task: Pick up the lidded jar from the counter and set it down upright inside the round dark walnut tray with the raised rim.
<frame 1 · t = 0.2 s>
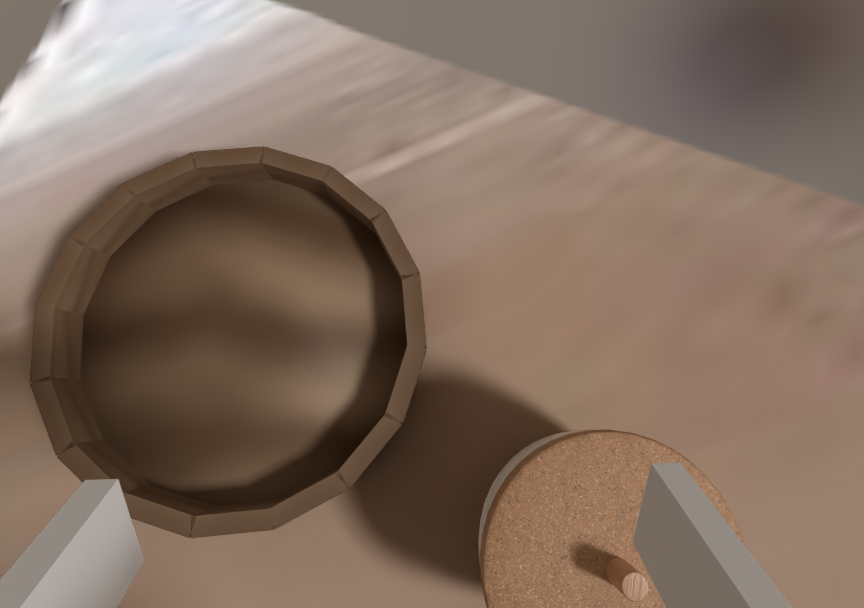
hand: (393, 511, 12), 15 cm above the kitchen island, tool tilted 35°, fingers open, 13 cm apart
walnut tray: (250, 333, 28), on the kitchen island
lidded jar: (561, 519, 27), on the kitchen island
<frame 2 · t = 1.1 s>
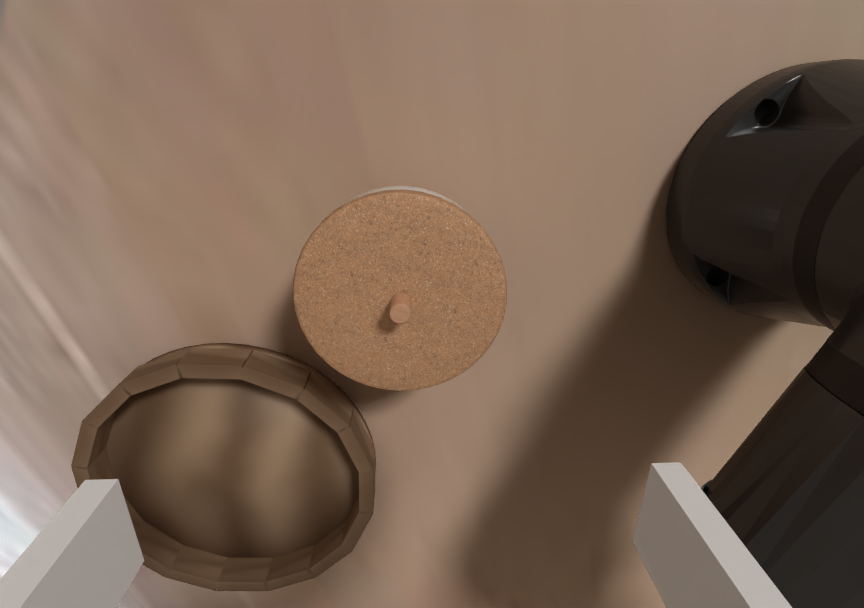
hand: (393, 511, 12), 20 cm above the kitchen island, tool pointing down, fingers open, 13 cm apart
walnut tray: (241, 462, 37), on the kitchen island
lidded jar: (403, 255, 31), on the kitchen island
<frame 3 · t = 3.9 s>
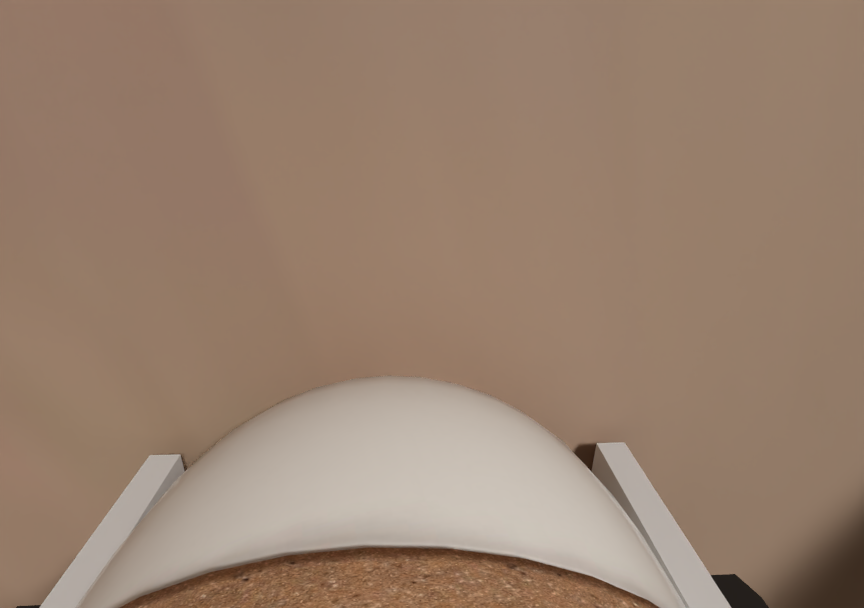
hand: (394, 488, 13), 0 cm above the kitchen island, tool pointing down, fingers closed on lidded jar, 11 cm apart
lidded jar: (395, 470, 13), on the kitchen island, touching gripper
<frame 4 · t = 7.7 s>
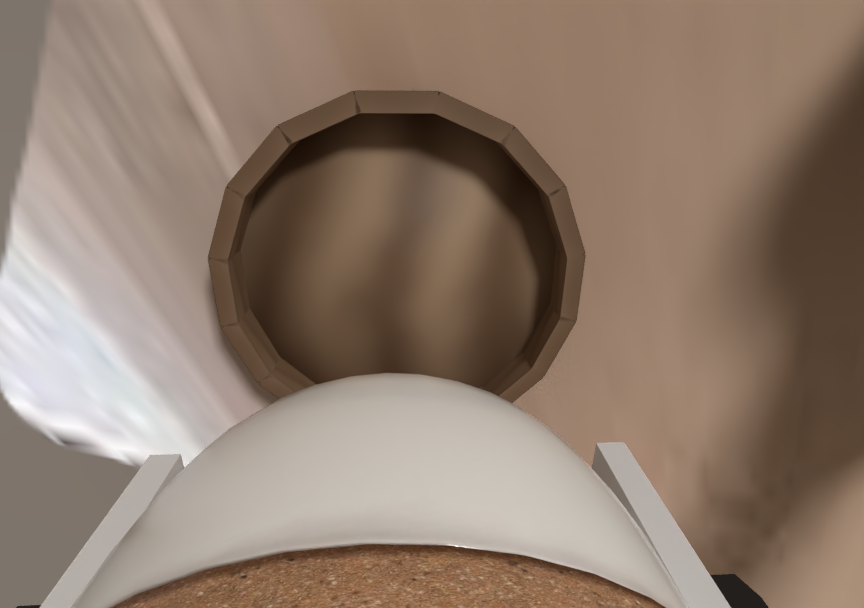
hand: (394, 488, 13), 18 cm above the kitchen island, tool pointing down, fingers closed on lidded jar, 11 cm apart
walnut tray: (401, 273, 29), on the kitchen island
lidded jar: (394, 469, 13), point 17 cm above the kitchen island, touching gripper
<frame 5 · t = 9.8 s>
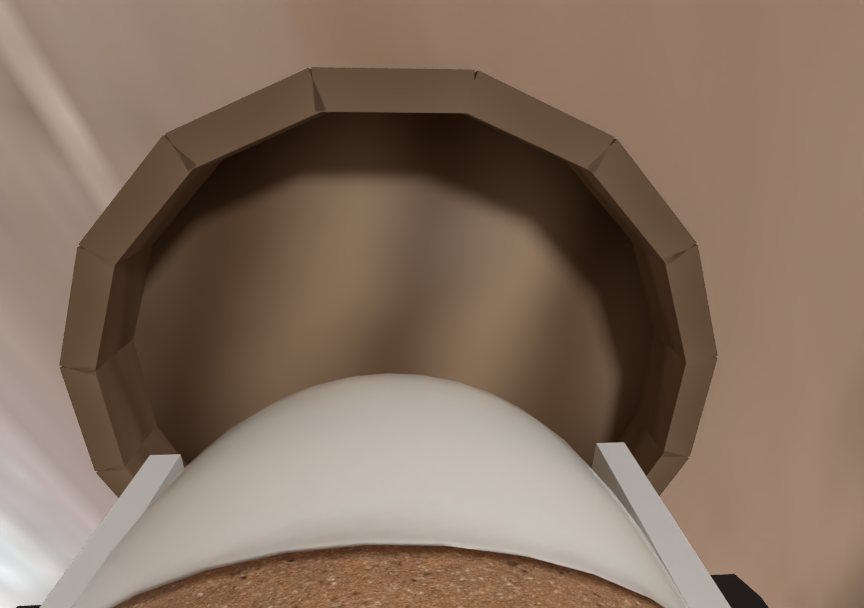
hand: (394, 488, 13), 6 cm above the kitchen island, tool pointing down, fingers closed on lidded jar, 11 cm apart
walnut tray: (401, 368, 18), on the kitchen island
lidded jar: (394, 469, 13), point 6 cm above the kitchen island, touching gripper
when the fingers open (3 cm above the kitchen island, at t = 11.4 s): lidded jar drops 2 cm, resting on walnut tray.
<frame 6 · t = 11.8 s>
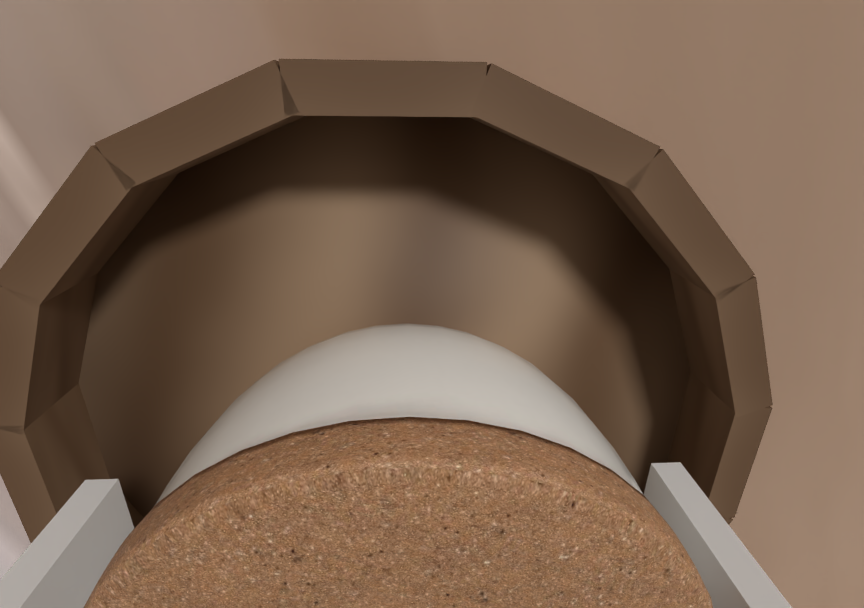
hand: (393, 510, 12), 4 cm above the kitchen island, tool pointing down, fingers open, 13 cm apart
walnut tray: (396, 411, 16), on the kitchen island
lidded jar: (405, 418, 15), point 1 cm above the kitchen island, touching walnut tray
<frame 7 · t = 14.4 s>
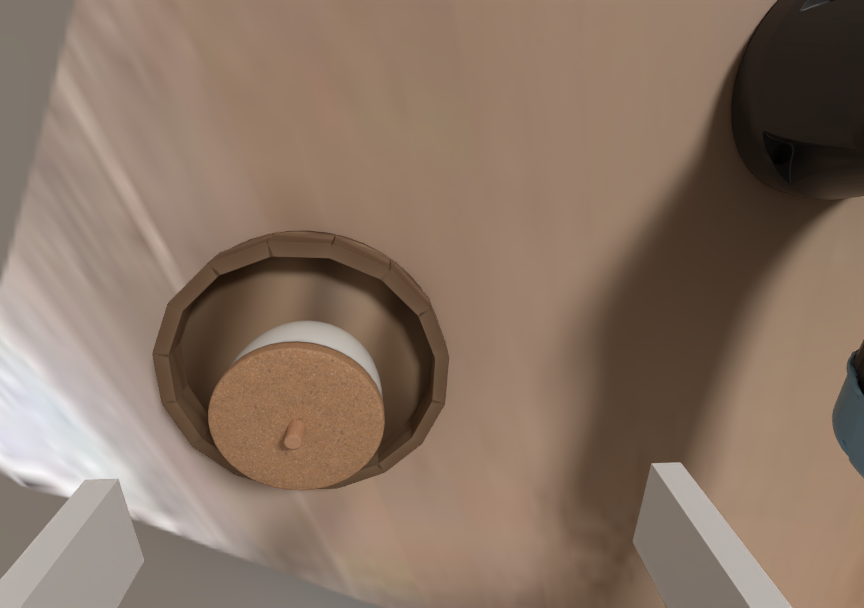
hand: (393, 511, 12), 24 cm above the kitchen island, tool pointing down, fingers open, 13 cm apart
walnut tray: (312, 359, 37), on the kitchen island
lidded jar: (315, 360, 37), point 1 cm above the kitchen island, touching walnut tray
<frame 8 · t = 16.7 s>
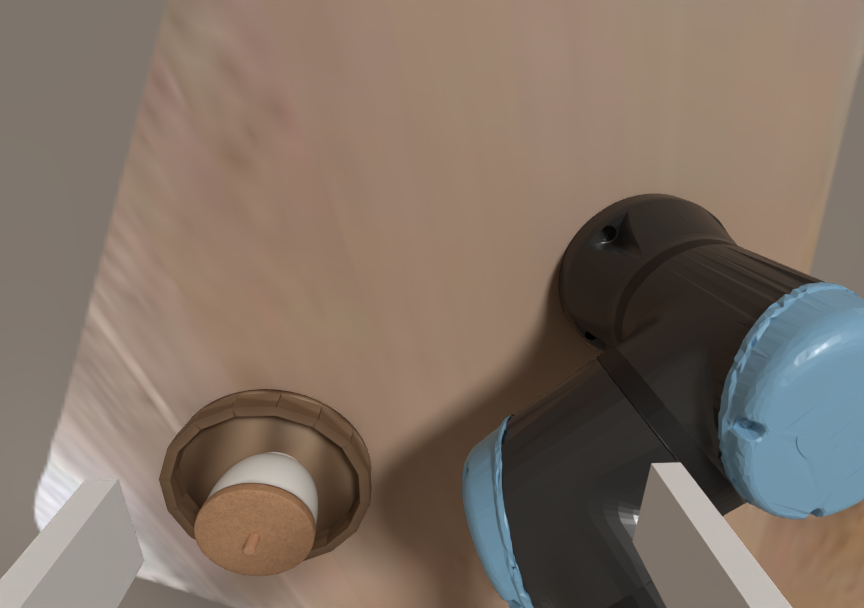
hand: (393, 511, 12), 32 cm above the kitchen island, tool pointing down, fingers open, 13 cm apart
walnut tray: (274, 470, 51), on the kitchen island
lidded jar: (276, 473, 50), point 1 cm above the kitchen island, touching walnut tray
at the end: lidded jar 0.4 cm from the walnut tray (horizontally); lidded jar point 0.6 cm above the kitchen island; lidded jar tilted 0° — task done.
